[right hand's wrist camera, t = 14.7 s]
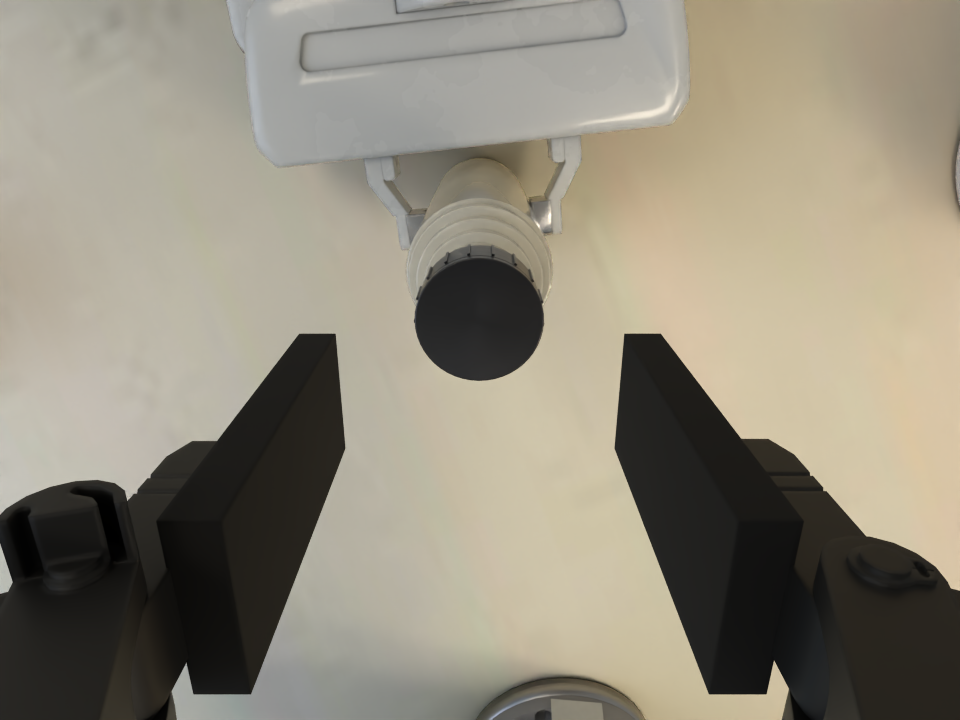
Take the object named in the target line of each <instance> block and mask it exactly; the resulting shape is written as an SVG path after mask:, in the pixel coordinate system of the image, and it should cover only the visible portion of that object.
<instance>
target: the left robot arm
mask: <svg viewBox="0 0 960 720" xmlns="http://www.w3.org/2000/svg"><path fill="white" fill-rule="evenodd" d="M226 3H227V8H228V12H229V17H230V21H231V26H232V31H233V35H234V37H235V40H236V42H237V44H238V46H239V47H240V49H241V50H242V51H243V53H244V54H245V69H246V82H247V93H248V102H249V110H250V117H251V123H252V130H253V135H254V140H255V144H256V147H257V149H258V150H259V152H260V153H261V154H262V155H263V156H264V157H265V158H266V159H268V160H269V161H270V162H271V163H272V164H273V165H274V166H275V167H278V168H285V167H294V166H303V165H313V164H322V163H331V162H340V161H349V160H358V159H364V164H365V170H366V176H367V182H368V185H369V186H370V187H371V188H372V190H373V191H374V192H375V194H376V195H377V196H378V197H379V199H380V200H381V201H382V203H383V204H384V205H385V206H386V208H387V209H388V210H389V211H390V213H391V214H392V215H393V216H396V221H397V228H398V234H399V241H400V246H401V249H402V250H409V249H410V245H411V243H412V241H413V239H414V237H415V234H416V232H417V230H418V228H419V226H420V224H421V222H422V220H423V218H424V215H425V213H426V211H427V209H428V208H422V209H412V208H411V207H410V205H409V204H408V202H407V201H406V200H405V198H404V197H403V196H402V194H401V193H400V191H399V190H398V189H397V187H396V186H395V184H394V183H393V182H392V180H394V179H396V178H397V177H398V176H399V174H400V167H399V159H398V155H404V154H413V153H422V152H432V151H441V150H450V149H459V148H468V147H477V146H486V145H496V144H505V143H514V142H523V141H532V140H541V139H547V142H548V155H549V158H550V159H551V160H552V161H554V162H555V163H558V165H557V167H556V170H555V172H554V174H553V176H552V178H551V181H550V183H549V185H548V187H547V189H546V191H545V194H544V195H543V196H535V197H529V204H530V206H531V208H532V210H533V212H534V215H535V217H536V219H537V221H538V223H539V225H540V228H541V230H542V232H543V234H544V235H554V234H562V214H561V199H562V198H564V196H565V194H566V192H567V190H568V187H569V185H570V183H571V181H572V179H573V177H574V175H575V173H576V171H577V169H578V167H579V165H580V163H581V161H582V157H581V135H587V134H596V133H605V132H614V131H624V130H633V129H642V128H651V127H660V126H669V125H671V124H673V123H674V122H675V121H676V120H677V118H678V117H679V116H680V114H681V113H682V111H683V110H684V108H685V107H686V105H687V103H688V101H689V96H690V55H689V40H688V28H687V18H686V10H685V3H684V0H226ZM955 178H956V191H957V197H958V201H959V205H960V143H959V147H958V152H957V159H956V172H955Z"/></svg>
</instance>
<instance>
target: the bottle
mask: <svg viewBox="0 0 960 720" xmlns="http://www.w3.org/2000/svg"><path fill="white" fill-rule="evenodd" d="M468 244H471V246H473V245H485V246H491V245H494V247H496V248H499V249H502V250H504V251H506V252H508V253H510V254H513V253H514V254H515V256H516V258H518V259H519V260H520V261H521V262H522V263H523V264H524V265H525V266H526V267H527V269H528V270H529V269H530V270H531V271H532V275H533V278H534V281H535V283H536V286H537V289H540V292H541V296H542V299H543V302H544V303H542V307H543V305H544V304H545V302H546V300H547V297H548V295H549V292H550V288H551V285H552V278H553V262H552V255H551V252H550V248H549V245H548V243H547V241H546V238H545V236H544V234H543V232H542V230H541V228H540V225H539V223H538V221H537V219H536V217H535V215H534V212H533V210H532V208H531V206H530V204H529V202H528V200H527V197H526V195H525V193H524V191H523V189H522V187H521V184H520V182H519V181H518V179H517V177H516V176H515V175H514V174H513V172H512V171H511V170H510V169H508V168H507V167H506V166H504V165H503V164H501V163H499V162H497V161H494V160H491V159H487V158H473V159H468V160H465V161H463V162H461V163H459V164H457V165H455V166H454V167H452V168H451V169H450V170H449V171H448V172H447V173H446V174H445V176H444V177H443V179H442V180H441V182H440V184H439V186H438V188H437V190H436V192H435V194H434V197H433V199H432V201H431V203H430V205H429V207H428V209H427V211H426V213H425V215H424V218H423V220H422V222H421V224H420V226H419V228H418V230H417V232H416V234H415V237H414V239H413V241H412V243H411V245H410V249H409V252H408V256H407V262H406V277H407V284H408V288H409V292H410V294H411V297H412V300H413V301H414V303H415V305H417V301H418V300H416V297H417V294H418V291H419V288H420V286H422V285H423V282H424V280H425V278H426V276H427V274H428V271H429V268H430V266H431V267H433V266H434V265H435V264H436V263H437V262H438V261H439V260H440V259H441V258H442V257H444V256H445V255H446V253H447V252H449V253H450V252H452V251H454V250H457V249H460V248H463V247H467V246H468Z"/></svg>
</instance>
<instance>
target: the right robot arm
mask: <svg viewBox="0 0 960 720" xmlns="http://www.w3.org/2000/svg"><path fill="white" fill-rule="evenodd" d="M344 451H345V438H344V427H343V415H342V403H341V392H340V380H339V368H338V357H337V345H336V334H299V335H298V336H297V337H296V339H295V340H294V341H293V343H292V344H291V345H290V347H289V348H288V349H287V351H286V352H285V353H284V354H283V356H282V357H281V358H280V360H279V361H278V362H277V364H276V365H275V366H274V367H273V369H272V370H271V371H270V373H269V374H268V375H267V377H266V378H265V379H264V381H263V382H262V383H261V384H260V386H259V387H258V388H257V390H256V391H255V392H254V394H253V395H252V396H251V398H250V399H249V400H248V401H247V403H246V404H245V405H244V407H243V408H242V409H241V411H240V412H239V413H238V414H237V416H236V417H235V418H234V420H233V421H232V422H231V424H230V425H229V426H228V428H227V429H226V430H225V431H224V433H223V434H222V435H221V437H220V438H219V439H218V441H192V442H190V443H188V444H187V445H185V446H183V447H182V448H180V449H178V450H177V451H175V452H173V453H172V454H170V455H168V456H167V457H166V458H165V459H164V460H163V461H162V462H161V464H160V465H159V466H158V467H157V468H156V469H155V470H154V472H153V473H152V474H151V478H147V480H146V481H145V482H144V483H143V484H142V485H141V486H140V488H139V489H138V492H137V494H133V496H132V497H131V498H130V499H129V500H128V501H127V498H126V494H125V490H123V489H122V488H121V487H119V486H118V485H116V484H115V483H111V482H105V481H100V480H90V481H75V482H70V483H66V484H61V485H57V486H53V487H49V488H47V489H44V490H41V491H39V492H36V493H34V494H31V495H29V496H26V497H25V498H23V499H21V500H20V501H18V502H16V503H15V504H13V505H11V506H10V507H8V508H6V509H5V510H4V511H3V513H2V514H1V515H0V544H1V547H2V550H3V553H4V556H5V559H6V562H7V565H8V569H9V572H10V575H11V578H12V581H13V583H12V585H11V587H10V589H9V591H8V592H6V593H2V594H0V720H177V718H176V711H175V704H174V700H173V696H172V689H173V687H174V685H175V683H176V681H177V680H178V678H179V676H180V674H181V672H182V670H183V668H184V666H185V664H186V662H187V666H188V671H189V676H190V680H191V685H192V690H193V694H251V693H252V690H253V688H254V685H255V682H256V680H257V677H258V675H259V672H260V669H261V667H262V664H263V662H264V659H265V656H266V654H267V651H268V649H269V646H270V643H271V641H272V638H273V636H274V633H275V630H276V628H277V625H278V623H279V620H280V617H281V615H282V612H283V609H284V607H285V604H286V602H287V599H288V596H289V594H290V591H291V589H292V586H293V583H294V581H295V578H296V576H297V573H298V570H299V568H300V565H301V563H302V560H303V557H304V555H305V552H306V550H307V547H308V544H309V542H310V539H311V537H312V534H313V531H314V529H315V526H316V524H317V521H318V518H319V516H320V513H321V511H322V508H323V505H324V503H325V500H326V498H327V495H328V492H329V490H330V487H331V485H332V482H333V479H334V477H335V474H336V472H337V469H338V466H339V464H340V461H341V458H342V456H343V453H344ZM615 451H616V453H617V456H618V459H619V461H620V464H621V466H622V469H623V472H624V474H625V477H626V479H627V482H628V485H629V487H630V490H631V492H632V495H633V498H634V500H635V503H636V505H637V508H638V511H639V513H640V516H641V518H642V521H643V524H644V526H645V529H646V531H647V534H648V537H649V539H650V542H651V544H652V547H653V550H654V552H655V555H656V557H657V560H658V563H659V565H660V568H661V570H662V573H663V576H664V578H665V581H666V583H667V586H668V589H669V591H670V594H671V596H672V599H673V602H674V604H675V607H676V609H677V612H678V615H679V617H680V620H681V623H682V625H683V628H684V630H685V633H686V636H687V638H688V641H689V643H690V646H691V649H692V651H693V654H694V656H695V659H696V662H697V664H698V667H699V669H700V672H701V675H702V677H703V680H704V682H705V685H706V688H707V690H708V693H709V694H767V690H768V685H769V680H770V676H771V671H772V666H773V662H774V661H775V663H776V665H777V666H778V668H779V670H780V672H781V674H782V676H783V678H784V680H785V682H786V684H787V686H788V687H789V691H788V696H787V700H786V704H785V709H784V713H783V717H782V720H960V591H958V590H954V589H951V588H950V586H949V584H948V582H947V581H946V579H945V578H944V577H943V576H942V574H941V573H940V572H939V571H938V569H937V568H936V567H935V566H934V565H932V564H931V563H929V562H928V561H927V560H925V559H924V558H922V557H921V556H920V555H918V554H917V553H915V552H912V551H910V550H908V549H906V548H904V547H901V546H899V545H897V544H895V543H892V542H888V541H884V540H880V539H877V538H873V537H866V536H865V535H864V533H863V532H862V531H861V530H860V529H859V528H858V527H857V525H856V524H855V523H854V522H853V521H852V520H851V519H850V518H849V516H848V515H847V514H846V513H845V512H844V511H843V510H842V508H841V507H840V506H839V505H838V504H837V503H836V502H835V500H834V499H833V498H832V497H831V496H830V495H829V494H828V493H827V491H823V487H822V486H821V485H820V483H819V482H818V481H817V480H816V479H815V478H814V477H813V476H810V472H809V471H808V470H807V469H806V468H805V466H804V465H803V464H802V463H801V462H800V461H799V460H798V458H797V457H796V456H795V455H794V454H792V453H791V452H789V451H787V450H786V449H784V448H782V447H781V446H779V445H777V444H776V443H774V442H772V441H771V440H769V439H741V438H740V437H739V435H738V434H737V433H736V431H735V430H734V429H733V428H732V426H731V425H730V424H729V422H728V421H727V420H726V418H725V417H724V416H723V414H722V413H721V412H720V411H719V409H718V408H717V407H716V405H715V404H714V403H713V401H712V400H711V399H710V398H709V396H708V395H707V394H706V392H705V391H704V390H703V388H702V387H701V386H700V384H699V383H698V382H697V381H696V379H695V378H694V377H693V375H692V374H691V373H690V371H689V370H688V369H687V367H686V366H685V365H684V364H683V362H682V361H681V360H680V358H679V357H678V356H677V354H676V353H675V352H674V351H673V349H672V348H671V347H670V345H669V344H668V343H667V341H666V340H665V339H664V337H663V336H662V335H661V334H624V345H623V357H622V368H621V380H620V392H619V403H618V415H617V427H616V438H615ZM476 720H645V719H644V717H643V715H642V714H641V712H640V711H639V709H638V708H637V707H636V706H635V705H634V704H633V703H632V702H631V701H630V700H629V699H628V698H626V697H625V696H624V695H622V694H620V693H619V692H617V691H615V690H613V689H611V688H609V687H607V686H604V685H602V684H598V683H595V682H591V681H587V680H581V679H571V678H555V679H545V680H539V681H535V682H530V683H527V684H524V685H521V686H518V687H516V688H513V689H511V690H509V691H507V692H505V693H504V694H502V695H500V696H499V697H497V698H496V699H495V700H493V701H492V702H491V703H490V704H489V705H488V706H487V707H485V709H484V710H483V711H482V712H481V713H480V715H479V716H478V717H477V719H476Z"/></svg>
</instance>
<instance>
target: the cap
mask: <svg viewBox="0 0 960 720" xmlns="http://www.w3.org/2000/svg"><path fill="white" fill-rule="evenodd" d="M416 300H418V301H417V305H416V310H415V319H414V323H415V329H416V333H417V337H418V340H419V342H420V345H421V346H422V348H423V350H424V352H425V353H426V354H427V356H428V357H429V358H430V359H431V360H432V361H433V362H434V363H435V364H436V365H437V366H438V367H439V368H441V369H442V370H444V371H446V372H447V373H449V374H451V375H454V376H456V377H459V378H462V379H467V380H476V381H482V380H491V379H496V378H499V377H503V376H505V375H507V374H510V373H511V372H513V371H515V370H516V369H518V368H519V367H520V366H522V365H523V364H524V363H525V362H526V361H527V360H528V359H529V358H530V357H531V355H532V354H533V353H534V351H535V349H536V348H537V346H538V344H539V341H540V339H541V335H542V332H543V326H544V313H543V307H542V303H544V302H543V299H542V296H541V292H540V289H537V286H536V283H535V281H534V278H533V275H532V271H531V270H530V269H529V270H528V269H527V267H526V266H525V265H524V264H523V263H522V262H521V261H520V260H519V259H518V258H516V256H515V254H514V253H513V254H510V253H508V252H506V251H504V250H502V249H499V248H496V247H494V245H491V246H485V245H473V246H471V244H468V246H467V247H463V248H460V249H457V250H454V251H452V252H450V253H449V252H447V253H446V255H445V256H444V257H442V258H441V259H440V260H439V261H438V262H437V263H436V264H435V265H434V266H433V267H431V266H430V268H429V271H428V274H427V276H426V278H425V280H424V282H423V285H422V286H420V288H419V291H418V294H417V297H416Z"/></svg>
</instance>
